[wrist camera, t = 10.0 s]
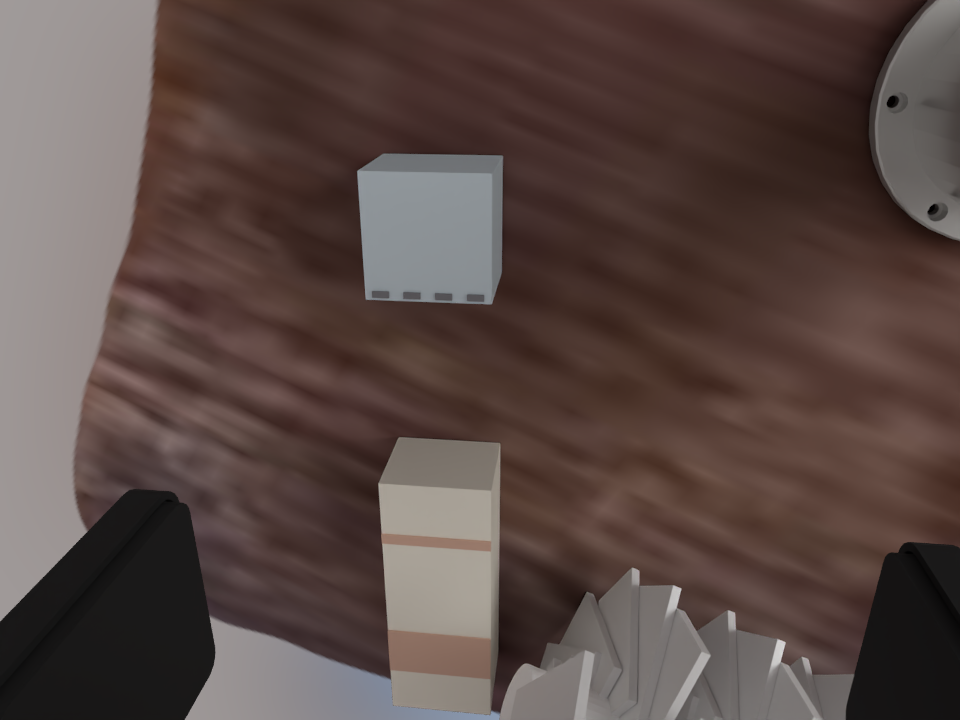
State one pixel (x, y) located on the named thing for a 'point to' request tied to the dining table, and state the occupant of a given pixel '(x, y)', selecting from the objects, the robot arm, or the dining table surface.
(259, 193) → the dining table surface
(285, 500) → the dining table surface
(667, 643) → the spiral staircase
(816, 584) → the dining table surface
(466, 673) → the block
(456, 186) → the grey box
